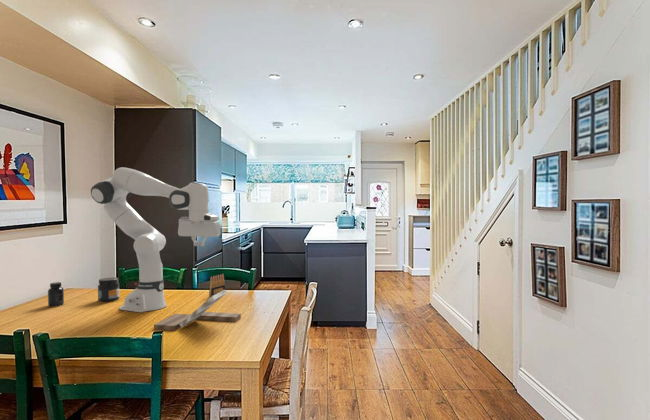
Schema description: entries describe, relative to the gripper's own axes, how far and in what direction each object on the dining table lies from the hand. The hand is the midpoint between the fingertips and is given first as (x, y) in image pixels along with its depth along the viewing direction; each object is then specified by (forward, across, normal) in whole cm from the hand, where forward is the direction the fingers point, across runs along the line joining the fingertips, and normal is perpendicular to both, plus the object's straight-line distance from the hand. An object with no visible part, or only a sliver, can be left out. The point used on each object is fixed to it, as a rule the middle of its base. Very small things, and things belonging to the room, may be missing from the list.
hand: (199, 245), depth 173 cm
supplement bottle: (+34, -87, +7) cm, 94 cm away
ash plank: (+27, +8, -10) cm, 30 cm away
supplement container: (+34, -67, +21) cm, 78 cm away
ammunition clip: (+34, -12, +42) cm, 56 cm away
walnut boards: (+34, +4, -8) cm, 35 cm away
